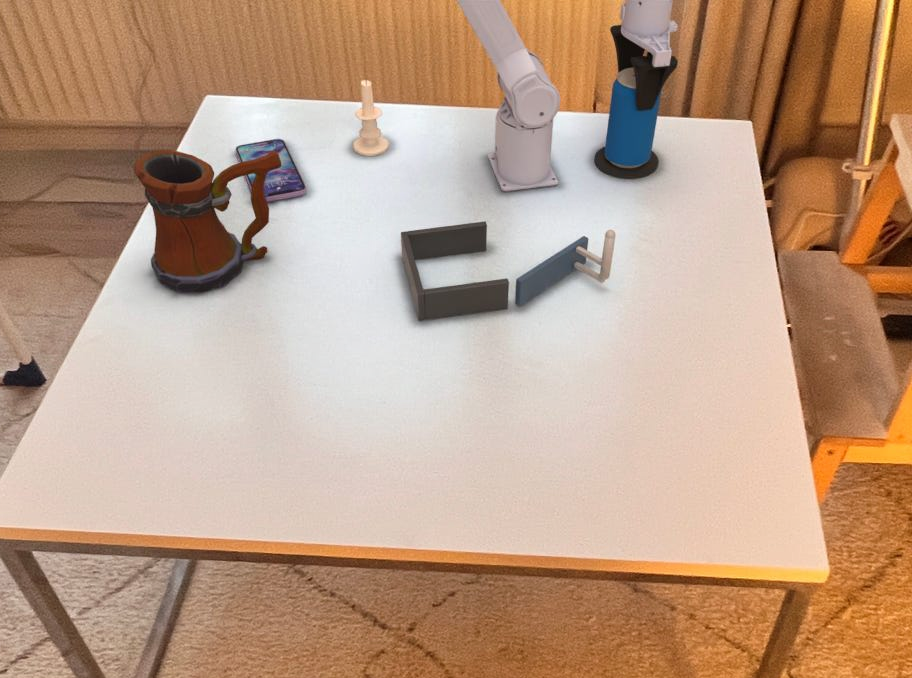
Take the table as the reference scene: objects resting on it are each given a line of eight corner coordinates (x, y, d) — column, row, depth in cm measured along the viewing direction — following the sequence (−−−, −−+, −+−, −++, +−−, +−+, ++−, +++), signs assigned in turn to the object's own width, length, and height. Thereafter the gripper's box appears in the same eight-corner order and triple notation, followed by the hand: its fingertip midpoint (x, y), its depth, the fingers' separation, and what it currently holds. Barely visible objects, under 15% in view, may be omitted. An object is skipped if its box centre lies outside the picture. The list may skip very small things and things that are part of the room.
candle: (395, 143, 137) (391, 75, 129) (376, 159, 134) (370, 91, 126) (366, 134, 139) (360, 66, 131) (346, 150, 136) (339, 82, 128)
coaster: (586, 149, 134) (586, 146, 134) (645, 142, 135) (646, 139, 135) (605, 182, 128) (605, 180, 128) (667, 174, 129) (667, 172, 129)
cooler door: (618, 280, 113) (626, 225, 107) (551, 326, 108) (556, 270, 102) (581, 260, 116) (587, 205, 110) (514, 303, 111) (517, 248, 105)
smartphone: (283, 137, 137) (308, 189, 127) (283, 143, 137) (308, 195, 128) (233, 145, 135) (255, 199, 126) (234, 151, 136) (256, 205, 126)
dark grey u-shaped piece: (485, 247, 119) (485, 220, 116) (507, 309, 110) (509, 282, 108) (402, 258, 118) (400, 231, 115) (418, 321, 109) (417, 294, 106)
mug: (291, 228, 123) (274, 122, 112) (300, 280, 115) (283, 173, 104) (153, 247, 121) (122, 141, 110) (154, 301, 113) (120, 194, 102)
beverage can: (658, 157, 132) (672, 75, 123) (633, 176, 128) (646, 93, 119) (620, 142, 135) (631, 61, 126) (594, 160, 131) (604, 79, 122)
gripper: (702, 11, 110) (682, 118, 120) (663, -36, 119) (647, 67, 129) (645, 16, 109) (629, 124, 119) (610, -31, 119) (598, 72, 129)
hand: (635, 95), depth 124 cm, fingers open, 7 cm apart
